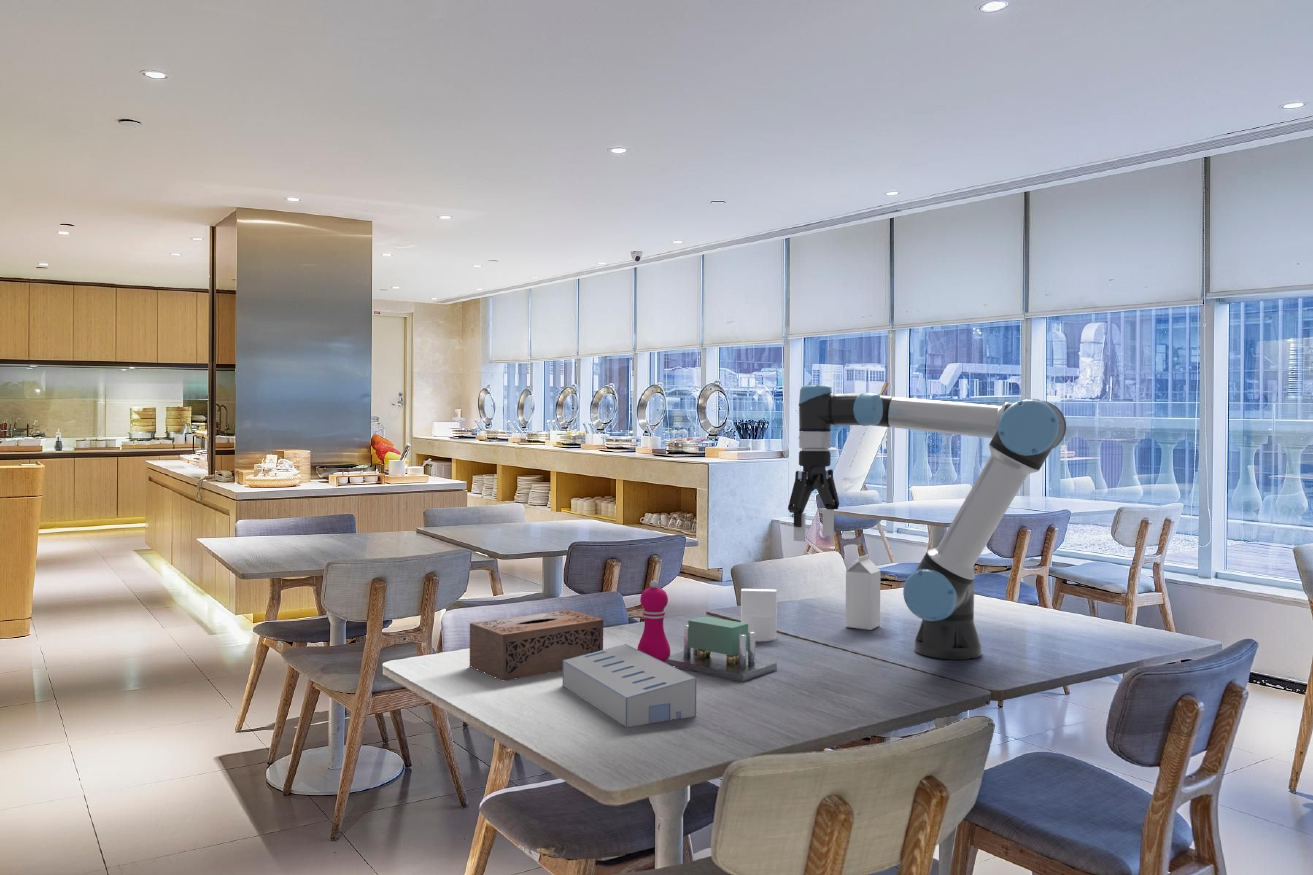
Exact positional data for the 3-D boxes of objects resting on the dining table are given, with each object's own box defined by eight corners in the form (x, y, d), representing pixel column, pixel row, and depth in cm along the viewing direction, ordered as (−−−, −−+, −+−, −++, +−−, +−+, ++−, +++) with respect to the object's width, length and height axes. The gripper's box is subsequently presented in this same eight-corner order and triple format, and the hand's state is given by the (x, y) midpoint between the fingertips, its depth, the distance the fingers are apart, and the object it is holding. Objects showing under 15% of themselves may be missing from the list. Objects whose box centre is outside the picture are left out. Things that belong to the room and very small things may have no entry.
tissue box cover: (567, 651, 229) (567, 609, 229) (603, 663, 218) (603, 619, 217) (469, 668, 213) (469, 623, 213) (502, 682, 202) (502, 634, 201)
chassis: (776, 669, 212) (777, 631, 212) (743, 681, 202) (743, 641, 202) (696, 653, 226) (697, 617, 226) (661, 664, 216) (662, 626, 216)
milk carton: (880, 626, 259) (880, 555, 259) (870, 630, 253) (871, 558, 253) (854, 622, 263) (855, 553, 263) (845, 627, 257) (845, 556, 257)
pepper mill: (646, 678, 204) (646, 583, 204) (631, 670, 211) (631, 578, 211) (676, 674, 208) (676, 581, 208) (660, 666, 214) (661, 576, 214)
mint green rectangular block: (747, 650, 213) (748, 623, 213) (732, 655, 208) (732, 627, 208) (704, 642, 220) (704, 616, 220) (688, 647, 216) (688, 620, 216)
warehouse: (562, 687, 198) (562, 650, 198) (625, 679, 205) (625, 644, 205) (625, 729, 172) (626, 687, 172) (696, 718, 178) (696, 677, 178)
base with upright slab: (776, 633, 249) (776, 587, 248) (776, 641, 240) (777, 593, 239) (740, 632, 249) (741, 586, 249) (740, 640, 241) (740, 592, 240)
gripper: (826, 448, 243) (826, 532, 244) (773, 450, 224) (772, 541, 224) (853, 449, 239) (852, 534, 239) (801, 451, 219) (800, 544, 220)
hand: (814, 538), depth 232 cm, fingers open, 13 cm apart
